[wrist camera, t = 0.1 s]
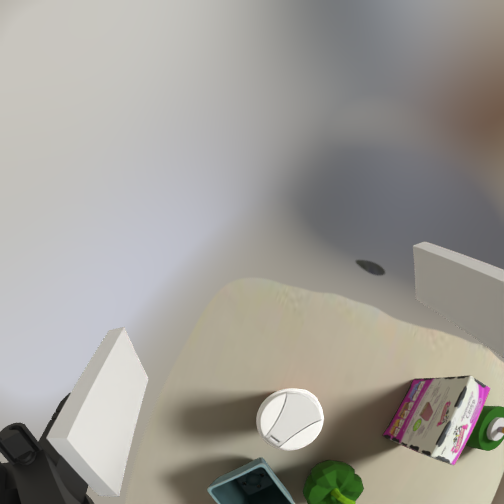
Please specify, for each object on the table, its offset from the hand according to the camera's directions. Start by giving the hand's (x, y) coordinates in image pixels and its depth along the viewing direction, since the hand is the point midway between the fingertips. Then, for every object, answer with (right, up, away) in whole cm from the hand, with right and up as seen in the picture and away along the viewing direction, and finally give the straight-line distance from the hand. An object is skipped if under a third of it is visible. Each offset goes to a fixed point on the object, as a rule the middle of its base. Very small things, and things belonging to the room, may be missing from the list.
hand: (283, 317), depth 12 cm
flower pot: (-1, -33, +26) cm, 42 cm away
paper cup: (+4, -21, +30) cm, 37 cm away
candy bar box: (+25, -24, +28) cm, 44 cm away
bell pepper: (+10, -33, +25) cm, 43 cm away
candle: (+41, -30, +25) cm, 56 cm away
